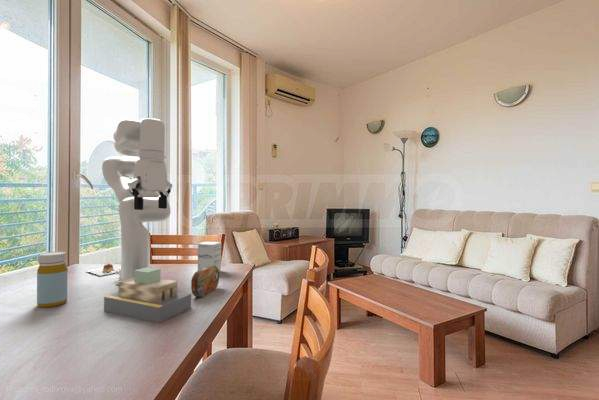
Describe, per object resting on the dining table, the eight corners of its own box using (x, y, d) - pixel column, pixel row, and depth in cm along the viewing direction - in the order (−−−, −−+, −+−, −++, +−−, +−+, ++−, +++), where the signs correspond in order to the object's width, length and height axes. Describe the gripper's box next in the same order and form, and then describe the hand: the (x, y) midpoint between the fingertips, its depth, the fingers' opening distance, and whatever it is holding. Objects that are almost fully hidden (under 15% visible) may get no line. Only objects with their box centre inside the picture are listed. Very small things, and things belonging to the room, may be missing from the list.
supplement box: (196, 273, 129) (197, 243, 129) (206, 269, 136) (206, 241, 136) (213, 275, 127) (213, 244, 127) (221, 270, 134) (221, 241, 134)
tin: (198, 300, 97) (198, 273, 97) (189, 299, 97) (189, 273, 97) (219, 286, 111) (220, 263, 111) (211, 286, 112) (212, 263, 112)
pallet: (118, 296, 87) (119, 281, 87) (141, 288, 94) (141, 275, 94) (156, 303, 82) (156, 288, 82) (177, 294, 89) (177, 281, 89)
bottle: (72, 301, 94) (73, 252, 93) (47, 309, 87) (47, 256, 87) (57, 298, 96) (57, 250, 96) (31, 306, 89) (31, 254, 89)
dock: (104, 311, 86) (104, 296, 86) (140, 298, 98) (140, 285, 98) (158, 323, 79) (159, 307, 79) (191, 307, 90) (191, 293, 90)
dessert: (99, 278, 121) (99, 266, 121) (85, 273, 128) (85, 262, 128) (130, 272, 132) (130, 261, 132) (115, 268, 138) (115, 257, 138)
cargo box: (134, 282, 87) (134, 270, 87) (147, 278, 91) (147, 267, 91) (147, 284, 85) (147, 272, 85) (160, 280, 90) (160, 268, 90)
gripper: (163, 160, 111) (162, 207, 112) (119, 154, 95) (119, 209, 95) (179, 159, 108) (179, 208, 109) (137, 153, 92) (137, 210, 93)
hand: (151, 209), depth 102 cm, fingers open, 9 cm apart
